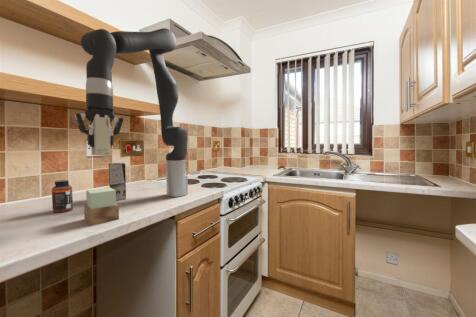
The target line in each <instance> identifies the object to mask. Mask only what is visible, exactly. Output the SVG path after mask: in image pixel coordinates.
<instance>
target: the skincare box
mask: <svg viewBox="0 0 476 317" xmlns="http://www.w3.org/2000/svg"><path fill="white" fill-rule="evenodd" d="M110 124H111V123H110V118H102V117H94V132H93V135H94V147H90V148H91V156H111V155H112V154H111V151H112V150H111V148H112V147H110Z"/></svg>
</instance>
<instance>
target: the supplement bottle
mask: <svg viewBox="0 0 476 317" xmlns="http://www.w3.org/2000/svg"><path fill="white" fill-rule="evenodd" d="M54 185H55V186H54V187H52V188H51V198H52V199H51V200H52V212H53V213H66V212H70V211H71V210H73V209H74V202H73V201H74V200H73V197H74V196H73V187H72V185H70V183H69V179H62V180H60V179H59V180H55V181H54Z"/></svg>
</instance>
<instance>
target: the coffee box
mask: <svg viewBox="0 0 476 317" xmlns="http://www.w3.org/2000/svg"><path fill="white" fill-rule="evenodd" d="M126 177H127V176H126V163H125V162H113V163H108V181H109V182H108V184H109V187H110V188H112V189H114V190H116V201H122V200H126V199H127V189H126V188H127V184H126V183H127V182H126V181H127V180H126V179H127V178H126Z"/></svg>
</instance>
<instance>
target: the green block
mask: <svg viewBox="0 0 476 317" xmlns="http://www.w3.org/2000/svg"><path fill="white" fill-rule="evenodd" d="M85 192H86V193H85V194H86V196H85V197H86V205H87V206H88V207H89V208H90V209H91V210H92V209H98V208H103V207H109V206H115V205H116V204H117V200H116V190H114V189H112V188H110V186H109V187H102V188H93V189H92V188H91V189H86V190H85Z"/></svg>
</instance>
